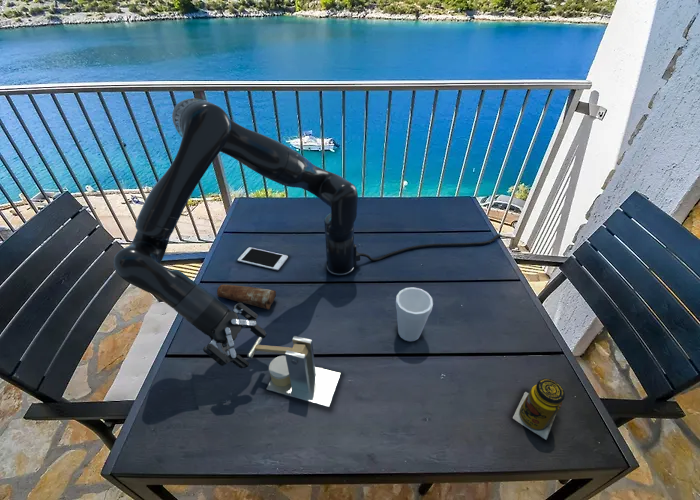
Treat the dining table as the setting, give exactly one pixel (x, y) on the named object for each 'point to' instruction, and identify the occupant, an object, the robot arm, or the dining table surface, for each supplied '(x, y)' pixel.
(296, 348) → the wood and metal t-shape
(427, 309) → the foam cup
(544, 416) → the condiment
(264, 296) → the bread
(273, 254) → the cell phone
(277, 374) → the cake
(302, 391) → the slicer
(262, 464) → the dining table surface
